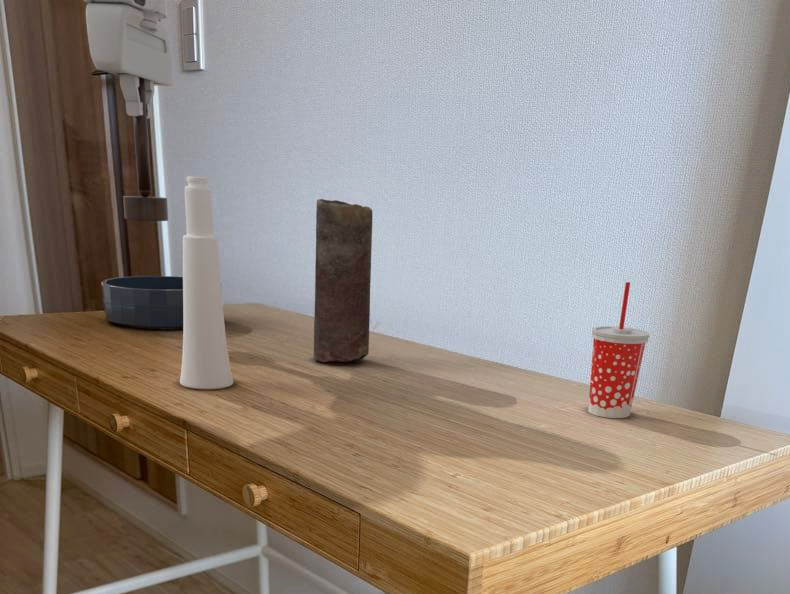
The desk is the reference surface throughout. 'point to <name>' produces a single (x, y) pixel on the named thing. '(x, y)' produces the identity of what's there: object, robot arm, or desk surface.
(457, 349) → the desk surface
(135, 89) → the robot arm
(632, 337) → the beverage cup
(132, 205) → the ladle
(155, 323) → the bowl
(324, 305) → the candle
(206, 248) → the cosmetic bottle
